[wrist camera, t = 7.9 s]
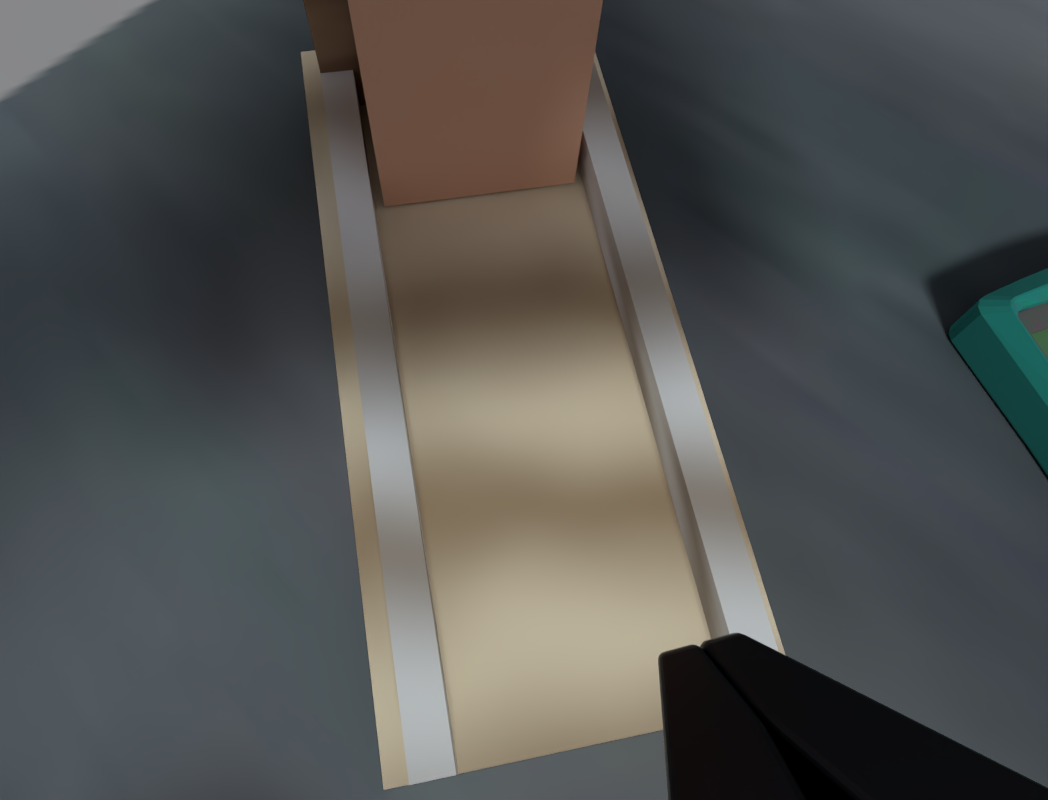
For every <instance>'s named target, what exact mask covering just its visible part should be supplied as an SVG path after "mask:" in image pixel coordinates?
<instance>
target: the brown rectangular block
mask: <svg viewBox="0 0 1048 800" xmlns="http://www.w3.org/2000/svg"><path fill="white" fill-rule="evenodd" d="M602 4H603V0H348V5H349V11H350V17H351V22H352V28H353V33H354V39H355V45H356V50H357V56H358V61H359V67H360V73H361V78H362V84H363V89H364V95H365V101H366V106H367V112H368V117H369V123H370V128H371V134H372V140H373V145H374V151H375V156H376V162H377V168H378V173H379V179H380V184H381V190H382V196H383V201H384V207H387V206H395V205H403V204H410V203H418V202H426V201H434V200H442V199H450V198H458V197H465V196H473V195H481V194H489V193H497V192H505V191H512V190H520V189H528V188H536V187H544V186H552V185H560V184H567V183H574V181H575V175H576V169H577V162H578V156H579V150H580V143H581V137H582V131H583V124H584V118H585V112H586V105H587V99H588V93H589V86H590V80H591V73H592V67H593V61H594V54H595V48H596V42H597V35H598V29H599V23H600V16H601V10H602Z"/></svg>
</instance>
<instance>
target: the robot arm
mask: <svg viewBox="0 0 1048 800" xmlns="http://www.w3.org/2000/svg"><path fill="white" fill-rule="evenodd" d="M658 669H659V683H660V696H661V709H662V722H663V736H664V749H665V762H666V776H667V789H668V800H1048V788H1047V787H1045V786H1043V785H1041V784H1039V783H1037V782H1035V781H1033V780H1031V779H1029V778H1027V777H1025V776H1023V775H1021V774H1019V773H1017V772H1015V771H1013V770H1011V769H1009V768H1007V767H1005V766H1003V765H1001V764H999V763H997V762H995V761H993V760H991V759H989V758H987V757H986V756H984V755H982V754H980V753H978V752H976V751H974V750H972V749H970V748H968V747H966V746H964V745H962V744H960V743H958V742H956V741H954V740H952V739H950V738H948V737H946V736H944V735H942V734H940V733H938V732H936V731H934V730H932V729H930V728H928V727H926V726H924V725H922V724H920V723H918V722H916V721H914V720H912V719H910V718H908V717H906V716H904V715H903V714H901V713H899V712H897V711H895V710H893V709H891V708H889V707H887V706H885V705H883V704H881V703H879V702H877V701H875V700H873V699H871V698H869V697H867V696H865V695H863V694H861V693H859V692H857V691H855V690H853V689H851V688H849V687H847V686H845V685H843V684H841V683H839V682H837V681H835V680H833V679H831V678H829V677H827V676H825V675H823V674H821V673H820V672H818V671H816V670H814V669H812V668H810V667H808V666H806V665H804V664H802V663H800V662H798V661H796V660H794V659H792V658H790V657H788V656H786V655H784V654H782V653H780V652H778V651H776V650H774V649H772V648H770V647H768V646H766V645H764V644H762V643H760V642H758V641H756V640H754V639H752V638H750V637H748V636H746V635H744V634H741V633H731V634H728V635H724V636H720V637H717V638H713V639H709V640H706V641H704V642H703V643H702V644H701V645H700V647H699V646H697V645H693V644H692V645H687V646H683V647H680V648H676V649H672V650H669V651H665V652H662V653H661V654H660V655H659V657H658Z"/></svg>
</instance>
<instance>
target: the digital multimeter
mask: <svg viewBox="0 0 1048 800" xmlns="http://www.w3.org/2000/svg"><path fill="white" fill-rule="evenodd" d="M1032 307H1033V308H1032ZM1029 308H1030V309H1029ZM1026 309H1027V310H1026ZM1023 310H1024V311H1023ZM1019 311H1021V312H1019ZM949 336H950V339H951V341H952V343H953V344H954V346H955V347H956V348H957V350H958V351H959V353H960V354H961V356H962V357H963V358H964V360H965V361H966V363H967V364H968V366H969V367H970V368H971V370H972V371H973V373H974V374H975V375H976V377H977V378H978V380H979V381H980V382H981V384H982V385H983V386H984V388H985V389H986V391H987V392H988V393H989V395H990V396H991V397H992V399H993V400H994V402H995V403H996V404H997V406H998V407H999V408H1000V410H1001V411H1002V413H1003V414H1004V415H1005V417H1006V418H1007V419H1008V421H1009V422H1010V424H1011V425H1012V426H1013V428H1014V429H1015V430H1016V432H1017V433H1018V434H1019V436H1020V437H1021V439H1022V440H1023V441H1024V443H1025V444H1026V445H1027V447H1028V448H1029V450H1030V451H1031V453H1032V454H1033V456H1034V457H1035V459H1036V460H1037V462H1038V463H1039V465H1040V466H1041V468H1042V469H1043V471H1044V472H1045V474H1046V475H1047V477H1048V268H1047V269H1044V270H1042V271H1039V272H1037V273H1034V274H1032V275H1030V276H1027V277H1025V278H1022V279H1020V280H1018V281H1015V282H1013V283H1011V284H1009V285H1007V286H1004V287H1002V288H1000V289H998V290H996V291H993V292H991V293H989V294H987V295H985V296H984V297H982V298H981V299H980V300H979V301H977V302H976V303H975V304H974V305H973V306H972V307H971V308H970V309H969V310H968V311H967V312H966V313H964V314H963V315H962V316H961V317H960V318H959V319H958V320H957V321H956V322H955V323H954V324H953V325H951V326H950V330H949Z"/></svg>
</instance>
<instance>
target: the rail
mask: <svg viewBox="0 0 1048 800" xmlns="http://www.w3.org/2000/svg"><path fill="white" fill-rule="evenodd" d="M303 1H304V6H305V10H306V14H307V18H308V23H309V27H310V31H311V35H312V39H313V44H314V48H315V50H314V51H304V52H301V59H302V68H303V77H304V86H305V94H306V103H307V112H308V121H309V130H310V139H311V148H312V157H313V166H314V174H315V183H316V192H317V201H318V210H319V219H320V228H321V237H322V246H323V254H324V263H325V272H326V281H327V290H328V299H329V308H330V317H331V326H332V334H333V343H334V352H335V361H336V370H337V379H338V388H339V397H340V405H341V414H342V423H343V432H344V441H345V450H346V459H347V468H348V477H349V485H350V494H351V503H352V512H353V521H354V530H355V539H356V548H357V557H358V565H359V574H360V583H361V592H362V601H363V610H364V619H365V628H366V637H367V645H368V654H369V663H370V672H371V681H372V690H373V699H374V708H375V717H376V725H377V734H378V743H379V752H380V761H381V770H382V779H383V788H384V790H386V789H390V788H395V787H400V786H404V785H412V784H417V783H421V782H426V781H431V780H435V779H440V778H444V777H449V776H454V775H457V774H460V773H464V772H469V771H474V770H478V769H483V768H488V767H492V766H497V765H501V764H506V763H511V762H515V761H520V760H525V759H529V758H534V757H538V756H543V755H548V754H552V753H557V752H562V751H566V750H571V749H576V748H580V747H585V746H589V745H594V744H599V743H603V742H608V741H613V740H617V739H622V738H626V737H631V736H636V735H640V734H645V733H650V732H654V731H659V730H663V722H662V709H661V696H660V683H659V669H658V657H659V655H660V654H661V653H662V652H665V651H669V650H672V649H676V648H680V647H683V646H687V645H692V644H693V645H697V646H699V647H700V645H701V644H702V643H703V642H704V641H706V640H709V639H713V638H717V637H720V636H724V635H728V634H731V633H741V634H744V635H746V636H748V637H750V638H752V639H754V640H756V641H758V642H760V643H762V644H764V645H766V646H768V647H770V648H772V649H774V650H776V651H778V652H780V653H782V654H784V655H785V652H784V649H783V646H782V643H781V639H780V636H779V633H778V630H777V627H776V624H775V620H774V617H773V614H772V611H771V608H770V605H769V601H768V598H767V595H766V592H765V589H764V586H763V582H762V579H761V576H760V573H759V570H758V567H757V563H756V560H755V557H754V554H753V551H752V548H751V544H750V541H749V538H748V535H747V532H746V528H745V525H744V522H743V519H742V516H741V513H740V509H739V506H738V503H737V500H736V497H735V494H734V490H733V487H732V484H731V481H730V478H729V475H728V471H727V468H726V465H725V462H724V459H723V456H722V452H721V449H720V446H719V443H718V440H717V437H716V433H715V430H714V427H713V424H712V421H711V417H710V414H709V411H708V408H707V405H706V402H705V398H704V395H703V392H702V389H701V386H700V383H699V379H698V376H697V373H696V370H695V367H694V364H693V360H692V357H691V354H690V351H689V348H688V345H687V341H686V338H685V335H684V332H683V329H682V326H681V322H680V319H679V316H678V313H677V310H676V307H675V303H674V300H673V297H672V294H671V291H670V287H669V284H668V281H667V278H666V275H665V272H664V268H663V265H662V262H661V259H660V256H659V253H658V249H657V246H656V243H655V240H654V237H653V234H652V230H651V227H650V224H649V221H648V218H647V215H646V211H645V208H644V205H643V202H642V199H641V196H640V192H639V189H638V186H637V183H636V180H635V176H634V173H633V170H632V167H631V164H630V161H629V157H628V154H627V151H626V148H625V145H624V142H623V138H622V135H621V132H620V129H619V126H618V123H617V119H616V116H615V113H614V110H613V107H612V104H611V100H610V97H609V94H608V91H607V88H606V85H605V81H604V78H603V75H602V72H601V69H600V66H599V62H598V59H597V56H596V53H595V54H594V61H593V67H592V73H591V80H590V86H589V93H588V99H587V105H586V112H585V118H584V124H583V131H582V137H581V143H580V150H579V156H578V162H577V169H576V175H575V181H574V183H567V184H560V185H552V186H544V187H536V188H528V189H520V190H512V191H505V192H497V193H489V194H481V195H473V196H465V197H458V198H450V199H442V200H434V201H426V202H418V203H410V204H403V205H395V206H387V207H384V201H383V196H382V190H381V184H380V179H379V173H378V168H377V162H376V156H375V151H374V145H373V140H372V134H371V128H370V123H369V117H368V112H367V106H366V101H365V95H364V89H363V84H362V78H361V73H360V67H359V61H358V56H357V50H356V45H355V39H354V33H353V28H352V22H351V17H350V11H349V5H348V0H303Z"/></svg>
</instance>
